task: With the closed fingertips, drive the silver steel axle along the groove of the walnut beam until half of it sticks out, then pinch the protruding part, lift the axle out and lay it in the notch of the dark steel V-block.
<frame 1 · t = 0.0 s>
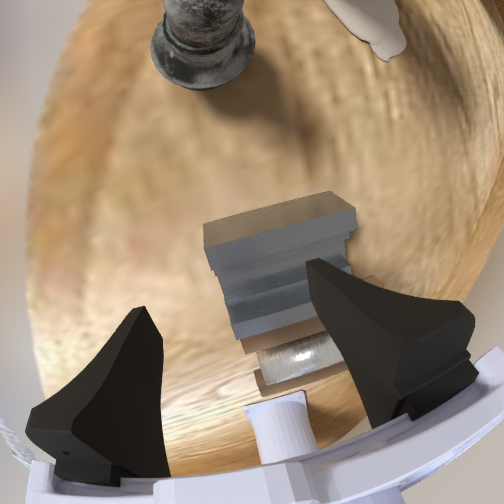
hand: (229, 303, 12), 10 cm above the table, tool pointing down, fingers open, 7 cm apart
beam: (313, 337, 28), on the table
axle: (319, 349, 27), point 2 cm above the table
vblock: (278, 252, 23), on the table
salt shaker: (202, 55, 15), on the table
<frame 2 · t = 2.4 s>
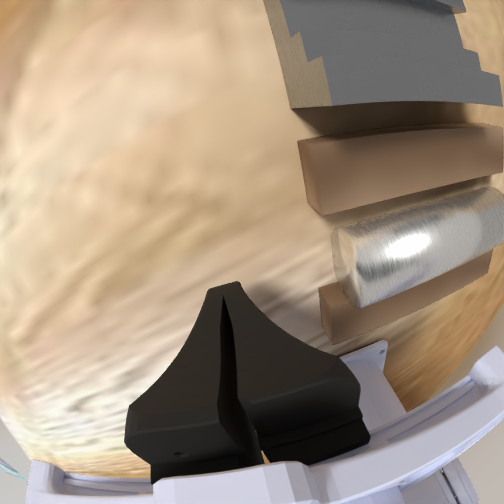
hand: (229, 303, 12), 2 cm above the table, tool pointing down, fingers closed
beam: (419, 217, 15), on the table
axle: (437, 237, 13), point 2 cm above the table, tilted 15°
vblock: (368, 25, 9), on the table
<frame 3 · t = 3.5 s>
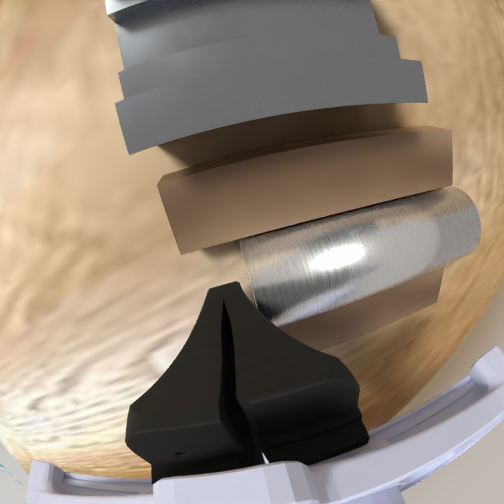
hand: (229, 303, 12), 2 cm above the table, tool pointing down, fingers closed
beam: (331, 244, 14), on the table
axle: (374, 249, 13), point 2 cm above the table, tilted 9°, touching gripper
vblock: (249, 29, 9), on the table
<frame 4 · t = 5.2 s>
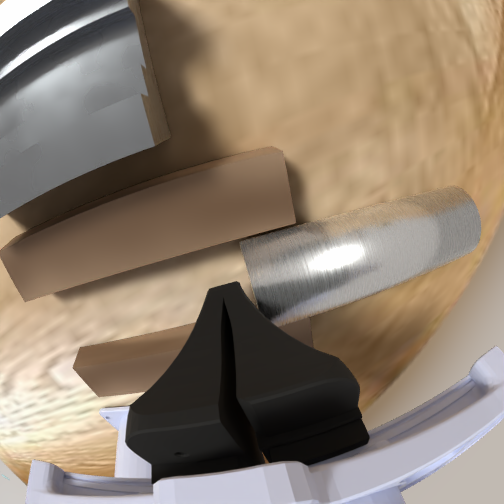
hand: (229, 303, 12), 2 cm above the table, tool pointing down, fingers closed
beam: (159, 292, 14), on the table
axle: (374, 248, 13), point 2 cm above the table, tilted 11°, touching gripper
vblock: (49, 98, 9), on the table
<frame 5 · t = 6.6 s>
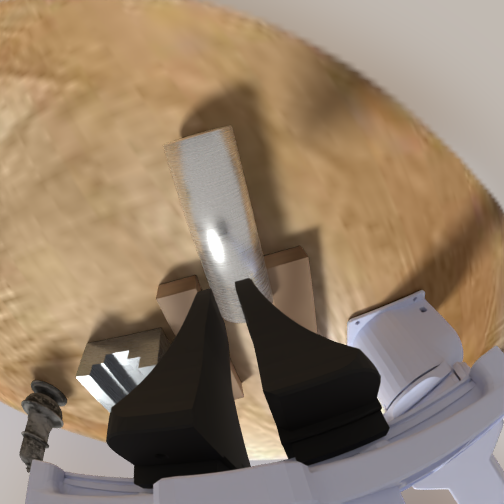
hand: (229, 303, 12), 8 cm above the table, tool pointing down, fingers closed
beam: (249, 332, 24), on the table
axle: (223, 229, 18), point 2 cm above the table, tilted 12°
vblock: (145, 371, 24), on the table
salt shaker: (49, 392, 25), on the table
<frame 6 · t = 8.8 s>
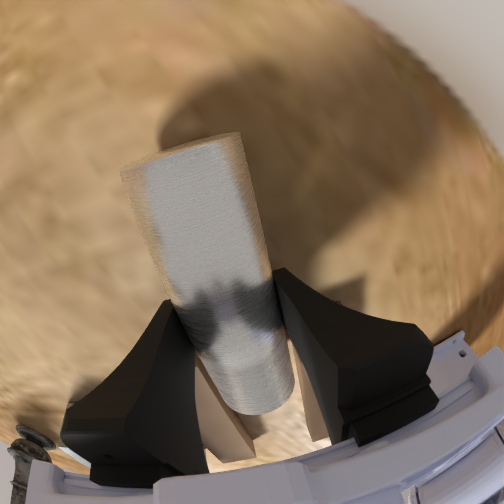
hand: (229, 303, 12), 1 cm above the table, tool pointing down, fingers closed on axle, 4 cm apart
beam: (265, 397, 18), on the table
axle: (226, 299, 11), point 2 cm above the table, touching gripper
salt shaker: (36, 436, 19), on the table
when the fingers open (6 cm above the table, at t = 12.2 s): axle drops 1 cm, resting on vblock.
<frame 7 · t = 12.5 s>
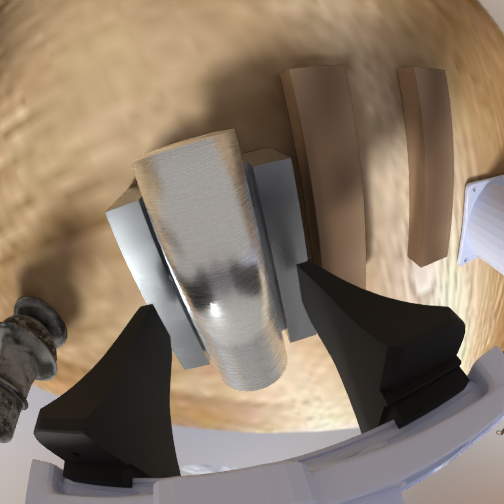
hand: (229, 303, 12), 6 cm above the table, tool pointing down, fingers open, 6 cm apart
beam: (380, 174, 16), on the table
axle: (222, 278, 13), point 5 cm above the table, touching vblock
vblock: (220, 246, 17), on the table
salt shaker: (40, 322, 17), on the table
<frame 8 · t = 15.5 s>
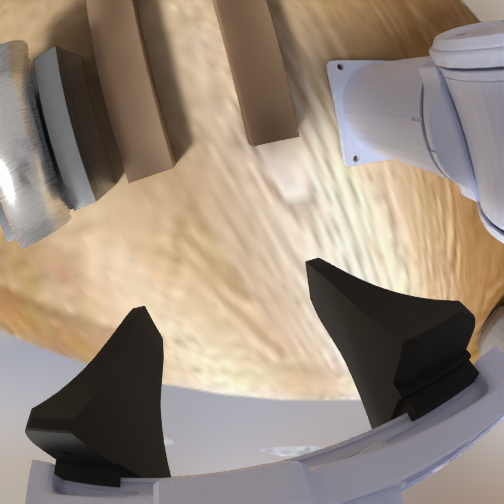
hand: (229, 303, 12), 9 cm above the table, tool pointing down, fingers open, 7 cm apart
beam: (187, 56, 15), on the table
axle: (13, 140, 11), point 5 cm above the table, touching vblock
coffee pot: (477, 342, 39), on the table
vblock: (50, 141, 15), on the table
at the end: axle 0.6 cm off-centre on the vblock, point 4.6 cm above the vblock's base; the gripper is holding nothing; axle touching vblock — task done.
